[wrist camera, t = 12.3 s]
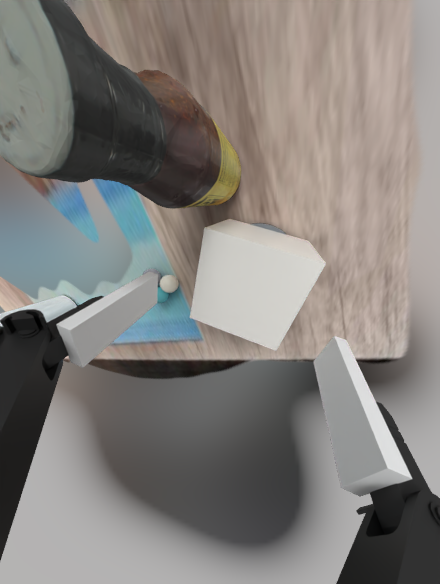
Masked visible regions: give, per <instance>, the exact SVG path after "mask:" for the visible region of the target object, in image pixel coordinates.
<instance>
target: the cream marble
mask: <svg viewBox="0 0 440 584" xmlns="http://www.w3.org/2000/svg"><path fill="white" fill-rule="evenodd" d="M178 285H179V282H178V280H177V278H176V277H175V276H173V275H165V276H163V277H162V278H161V280H160V287H161V289H162V290H163V291H164V292H167V293H172V292H174V291H176V290H177V288H178Z"/></svg>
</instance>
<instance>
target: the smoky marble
mask: <svg viewBox="0 0 440 584" xmlns="http://www.w3.org/2000/svg"><path fill="white" fill-rule="evenodd" d="M149 271H150V272H153V273H155V274H158V284H159V283H160V280H161V274H160V273H159V271H157V270H156V269H147V270H145V271H144V273H143V275H144V274H145V273H147V272H149Z"/></svg>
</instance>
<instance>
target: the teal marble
mask: <svg viewBox="0 0 440 584" xmlns="http://www.w3.org/2000/svg"><path fill="white" fill-rule="evenodd" d="M168 297H169V293H167V292H164V291H163V290H162V289H161V287H160V286H158V291H157V303H163V302H165V301H166V300H167V299H168Z"/></svg>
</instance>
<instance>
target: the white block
mask: <svg viewBox="0 0 440 584" xmlns="http://www.w3.org/2000/svg"><path fill="white" fill-rule="evenodd" d="M325 264H326V263H325V262H324V261H323V259H322V258H321V257H320V255H319V254H318V253H317V251H316V250H315V249H314V247H313V246H312V245H311V244H310V242H309V241H307V240H304V239H300V238H297V237H293V236H289V235H286V234H282V233H279V232H275V231H272V230H268V229H265V228H261V227H257V226H254V225H250V224H247V223H243V222H240V221H236V220H233V219H228V220H225V221H222V222H219V223H216V224H214V225H211V226H208V227H205V228H204V234H203V240H202V246H201V252H200V258H199V264H198V270H197V276H196V283H195V289H194V295H193V301H192V307H191V313H190V318H192V319H194V320H197V321H199V322H202V323H205V324H207V325H210V326H212V327H215V328H218V329H220V330H223V331H225V332H228V333H231V334H233V335H236V336H239V337H241V338H244V339H246V340H249V341H252V342H254V343H257V344H259V345H262V346H265V347H267V348H270V349H272V350H275V351H276V350H277V348H278V347H279V345H280V343H281V341H282V340H283V338H284V336H285V334H286V333H287V331H288V329H289V327H290V326H291V324H292V322H293V320H294V319H295V317H296V315H297V313H298V312H299V310H300V308H301V306H302V305H303V303H304V301H305V299H306V298H307V296H308V294H309V292H310V291H311V289H312V287H313V285H314V284H315V282H316V280H317V278H318V277H319V275H320V273H321V271H322V270H323V268H324V266H325Z"/></svg>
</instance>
